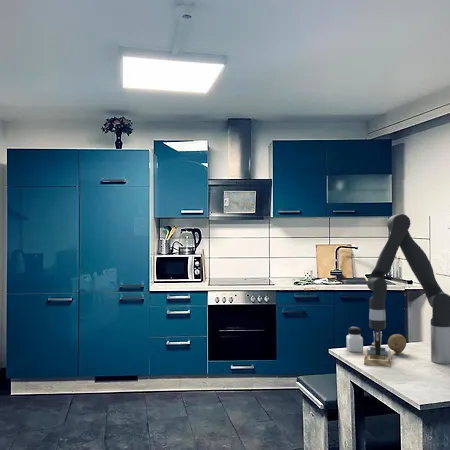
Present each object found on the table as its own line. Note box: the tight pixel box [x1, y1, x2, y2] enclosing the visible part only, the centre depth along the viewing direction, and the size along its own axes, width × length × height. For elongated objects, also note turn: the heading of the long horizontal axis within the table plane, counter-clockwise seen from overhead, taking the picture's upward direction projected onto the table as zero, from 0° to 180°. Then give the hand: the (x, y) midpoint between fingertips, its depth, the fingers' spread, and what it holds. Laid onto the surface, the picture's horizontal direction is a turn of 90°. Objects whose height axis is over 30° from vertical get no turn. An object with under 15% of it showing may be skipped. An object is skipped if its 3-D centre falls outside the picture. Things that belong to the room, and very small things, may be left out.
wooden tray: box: [363, 347, 392, 368], centre depth 236 cm, size 12×19×4 cm, turn 161°
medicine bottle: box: [345, 326, 364, 353], centre depth 256 cm, size 7×7×12 cm
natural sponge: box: [387, 333, 407, 355], centre depth 249 cm, size 9×9×10 cm
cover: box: [367, 345, 389, 355], centre depth 240 cm, size 9×8×4 cm
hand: (377, 354), depth 234 cm, fingers closed
